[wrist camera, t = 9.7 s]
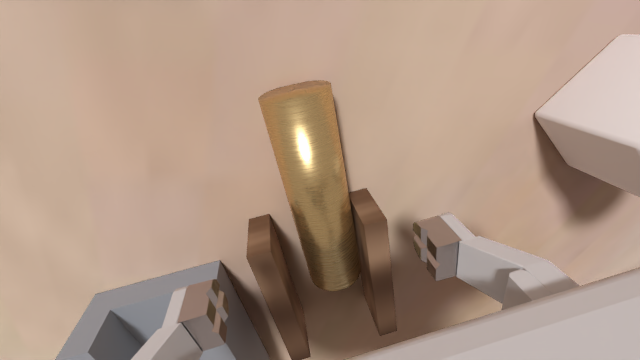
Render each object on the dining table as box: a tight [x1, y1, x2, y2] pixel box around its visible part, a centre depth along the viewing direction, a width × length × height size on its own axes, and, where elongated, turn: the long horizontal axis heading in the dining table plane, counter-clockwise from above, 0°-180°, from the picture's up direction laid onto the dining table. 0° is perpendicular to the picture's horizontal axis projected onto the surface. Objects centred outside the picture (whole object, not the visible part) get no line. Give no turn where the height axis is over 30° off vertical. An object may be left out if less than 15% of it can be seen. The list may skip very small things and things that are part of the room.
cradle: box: [55, 261, 270, 360], centre depth 23 cm, size 14×10×5 cm
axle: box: [258, 80, 361, 291], centre depth 19 cm, size 14×4×4 cm, turn 10°
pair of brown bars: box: [247, 188, 397, 360], centre depth 22 cm, size 12×9×4 cm
